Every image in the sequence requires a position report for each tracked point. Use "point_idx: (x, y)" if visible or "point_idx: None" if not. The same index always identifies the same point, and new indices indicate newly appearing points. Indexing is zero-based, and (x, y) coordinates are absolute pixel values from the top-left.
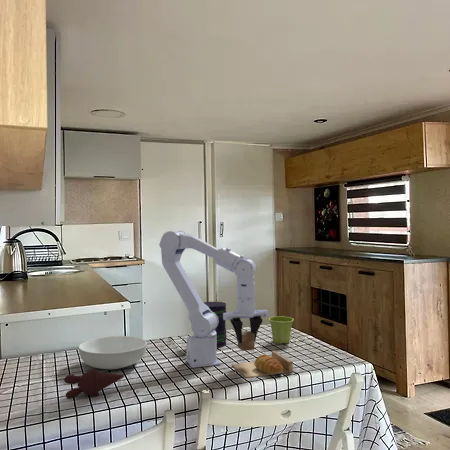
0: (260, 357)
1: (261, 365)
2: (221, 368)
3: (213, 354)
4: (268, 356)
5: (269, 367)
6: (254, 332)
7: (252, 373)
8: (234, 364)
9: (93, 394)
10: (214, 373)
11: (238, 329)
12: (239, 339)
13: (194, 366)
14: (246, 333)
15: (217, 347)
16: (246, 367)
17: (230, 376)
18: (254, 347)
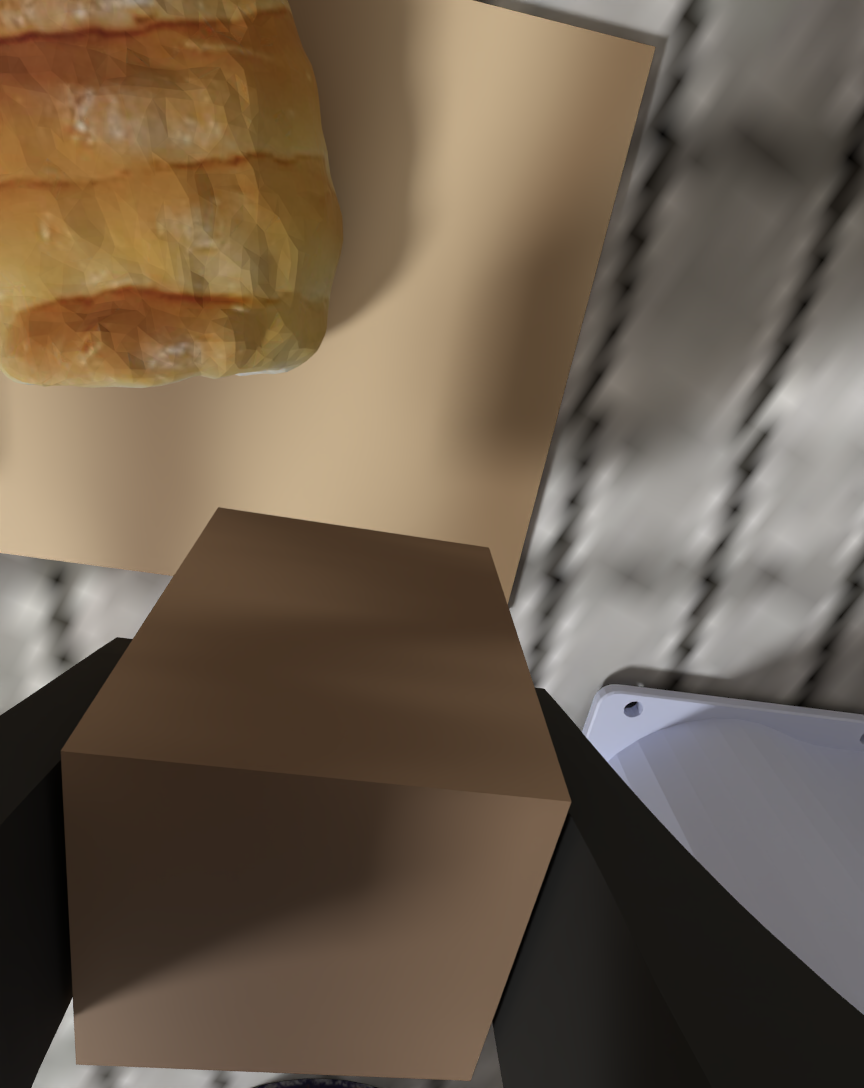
0: (190, 316)
1: (301, 92)
2: (664, 583)
3: (721, 802)
4: (14, 240)
5: None
6: (26, 802)
7: (476, 143)
8: None
9: None
10: (845, 472)
11: (838, 1028)
12: (583, 740)
13: None
14: (352, 857)
15: (324, 1080)
16: (404, 435)
17: (774, 261)
18: (209, 523)
